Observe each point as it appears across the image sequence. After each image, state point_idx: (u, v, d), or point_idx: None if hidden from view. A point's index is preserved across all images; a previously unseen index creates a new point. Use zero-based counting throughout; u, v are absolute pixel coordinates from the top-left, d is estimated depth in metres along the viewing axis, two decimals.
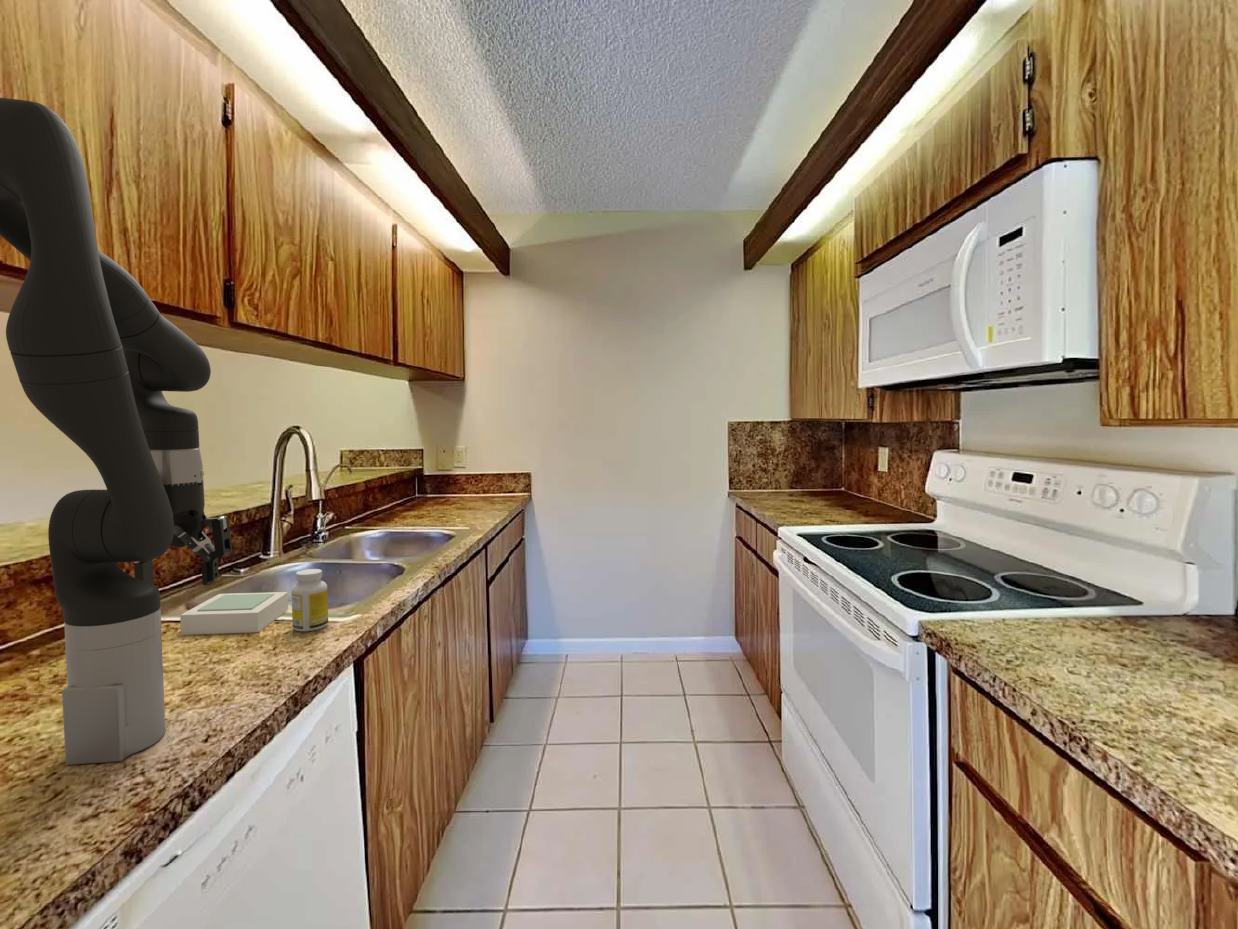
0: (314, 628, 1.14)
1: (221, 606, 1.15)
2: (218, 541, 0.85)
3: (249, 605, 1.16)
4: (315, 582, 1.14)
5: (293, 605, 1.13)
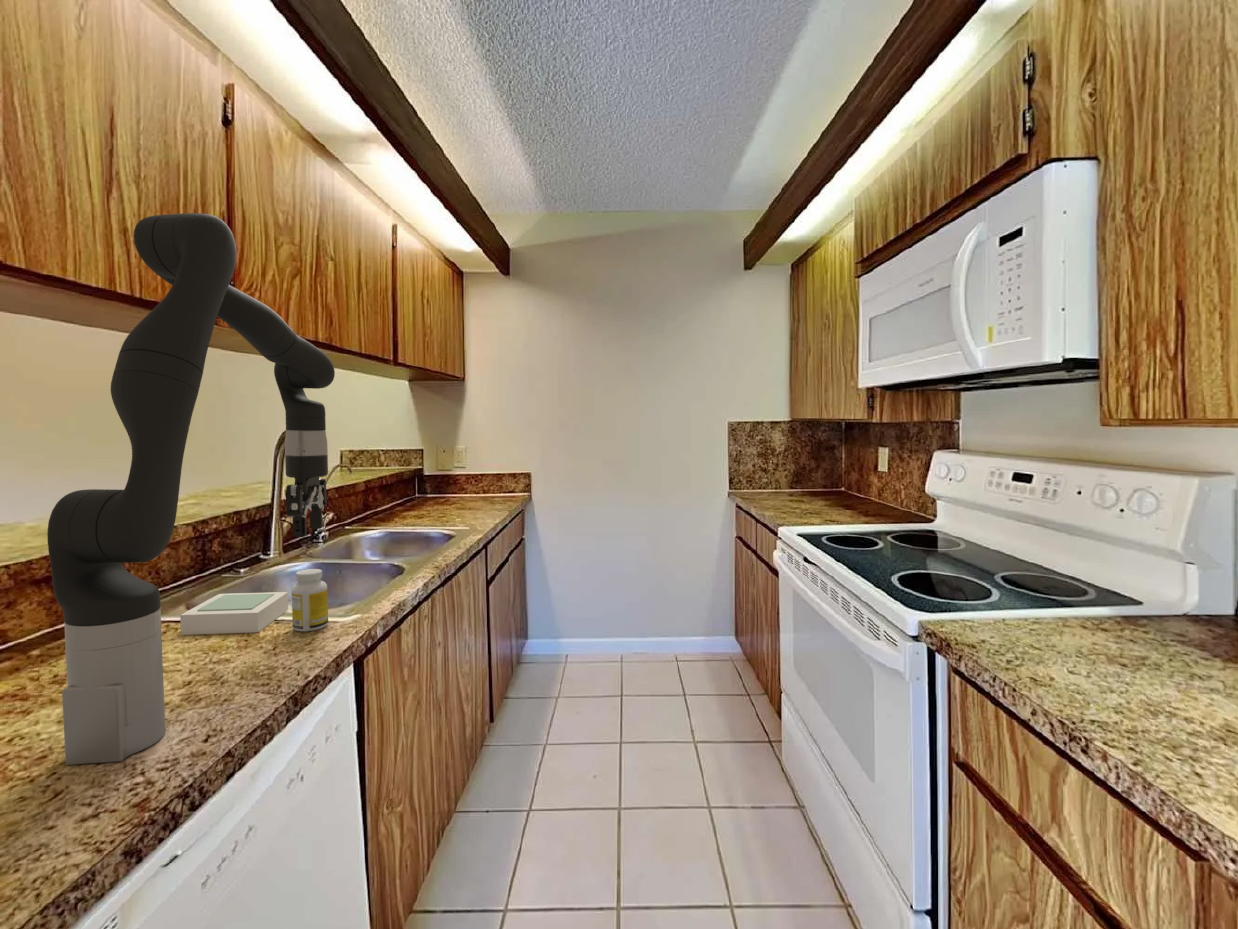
0: (314, 628, 1.14)
1: (221, 606, 1.15)
2: (325, 494, 1.21)
3: (249, 605, 1.16)
4: (315, 582, 1.14)
5: (293, 605, 1.13)
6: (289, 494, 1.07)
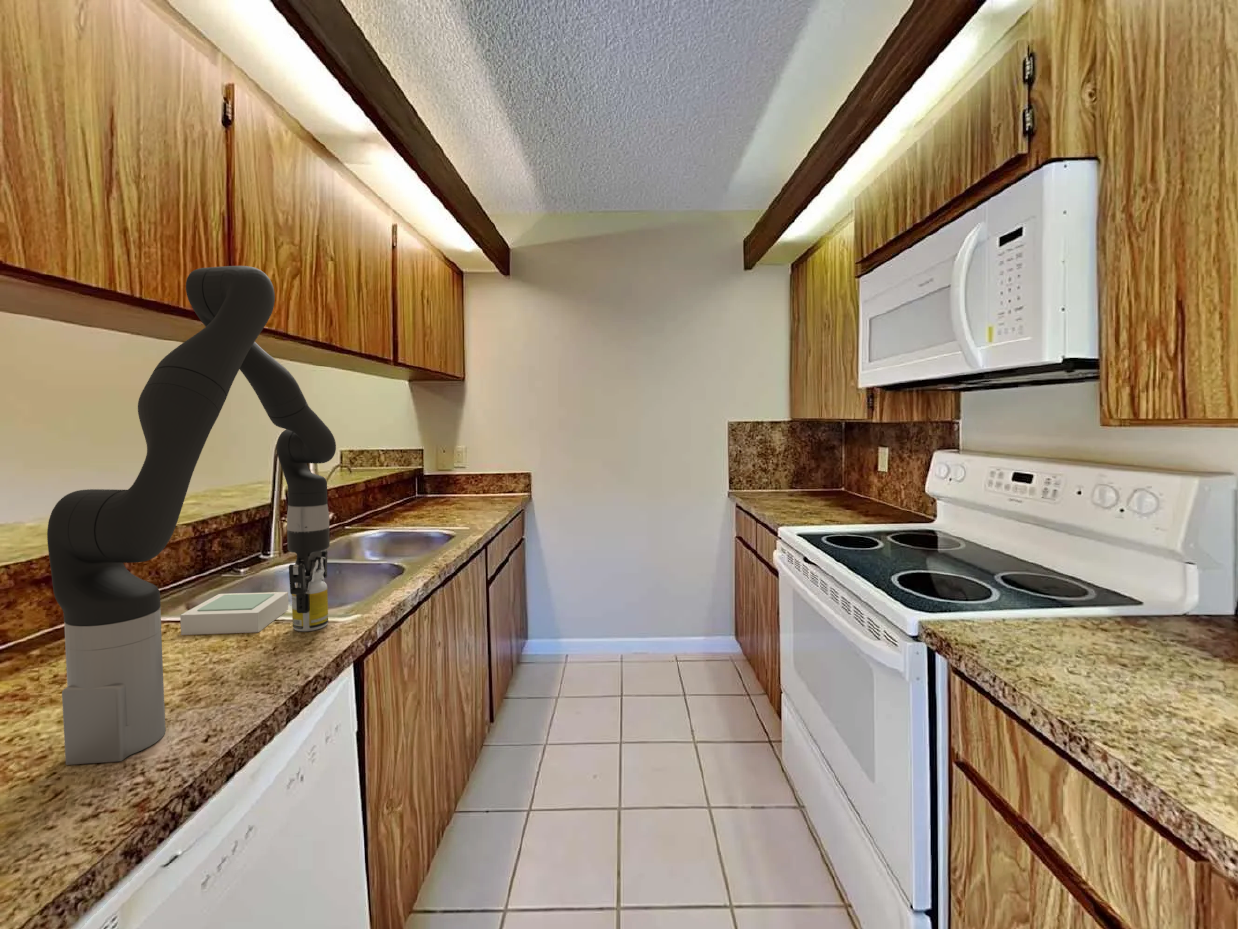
0: (314, 628, 1.14)
1: (221, 606, 1.15)
2: (326, 566, 1.22)
3: (249, 605, 1.16)
4: (315, 582, 1.14)
5: (293, 605, 1.13)
6: (292, 574, 1.09)
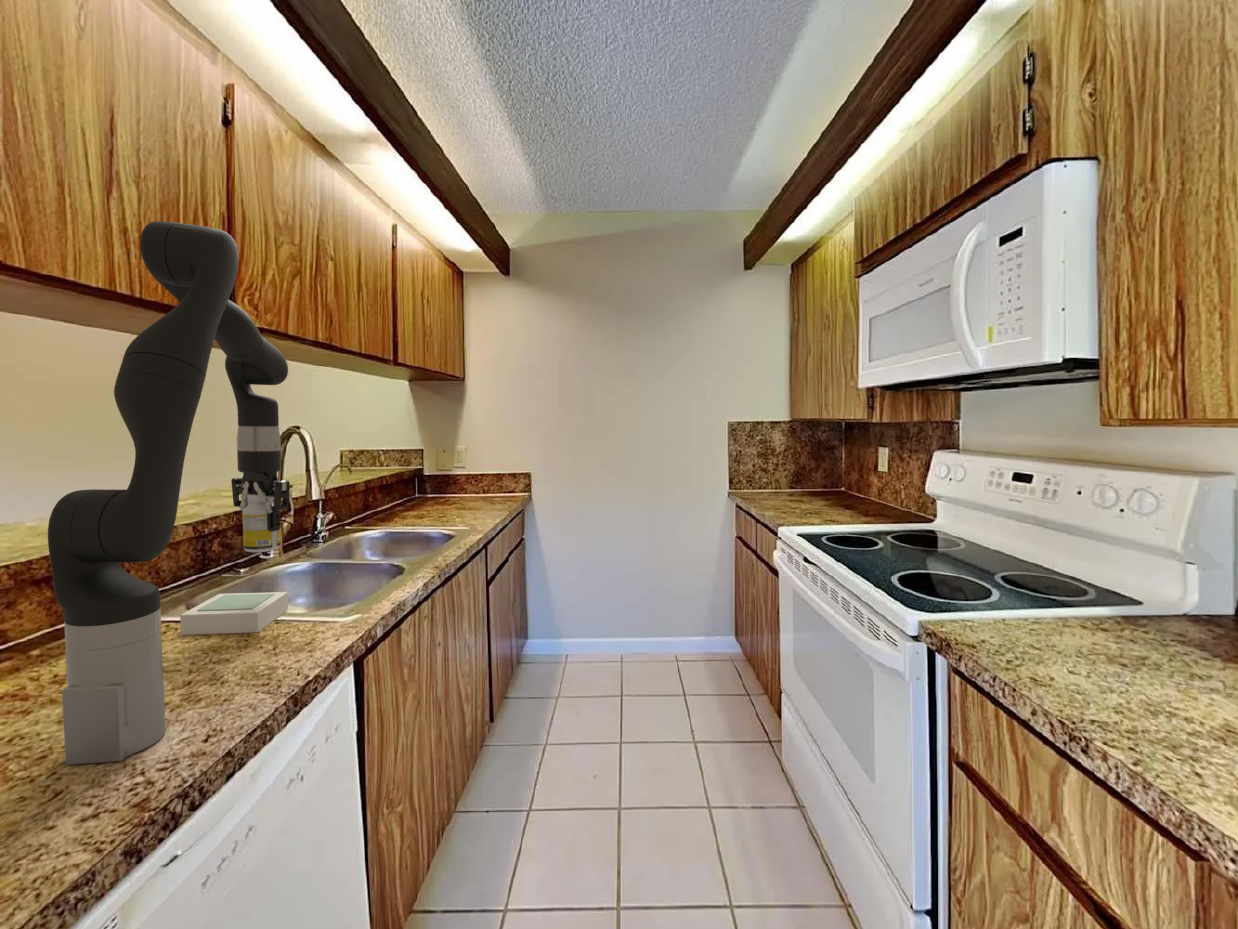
0: (279, 546, 1.17)
1: (221, 606, 1.15)
2: None
3: (249, 605, 1.16)
4: None
5: (258, 526, 1.13)
6: (281, 490, 1.13)
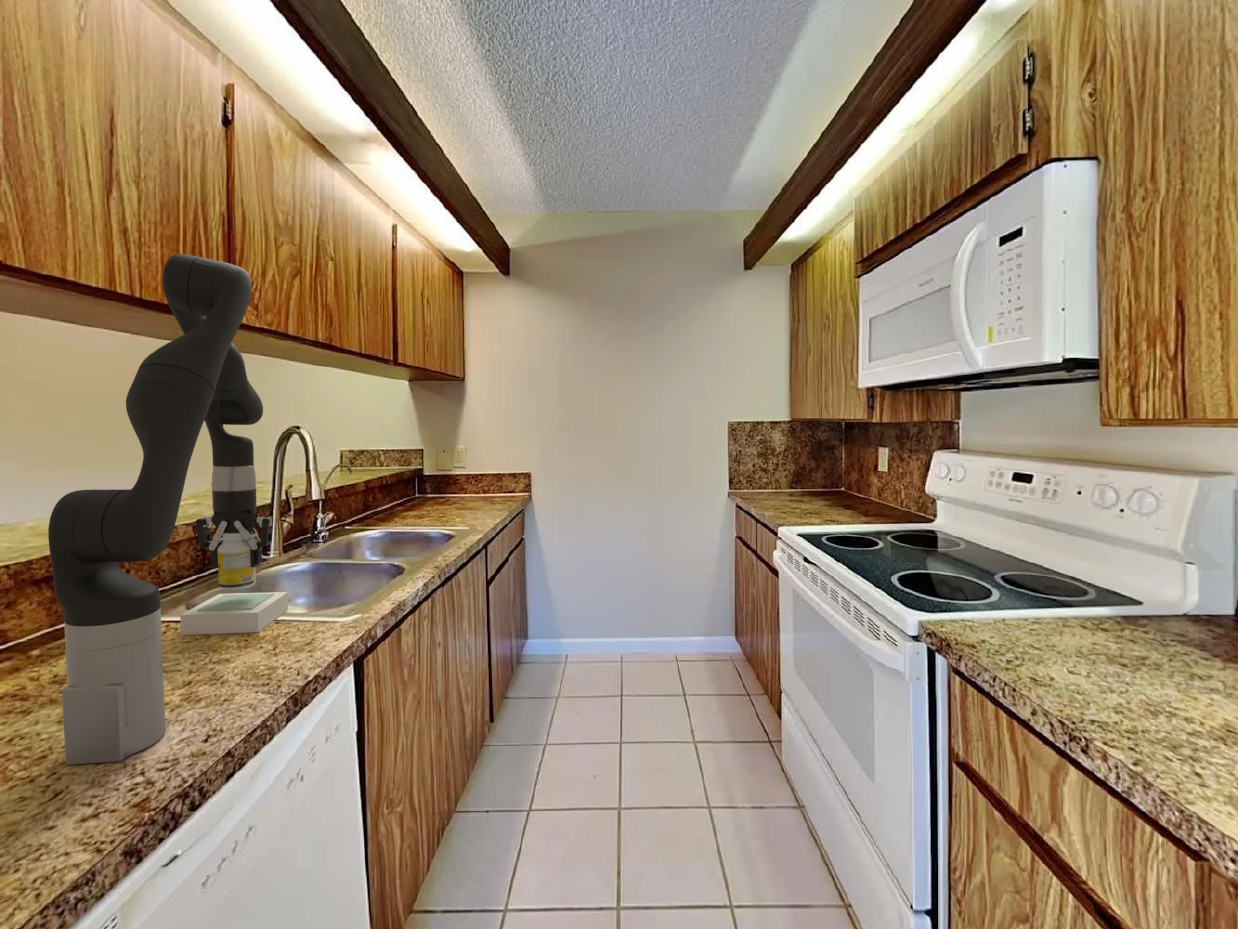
0: None
1: (221, 606, 1.15)
2: None
3: (249, 605, 1.16)
4: None
5: (243, 564, 1.16)
6: (269, 526, 1.18)
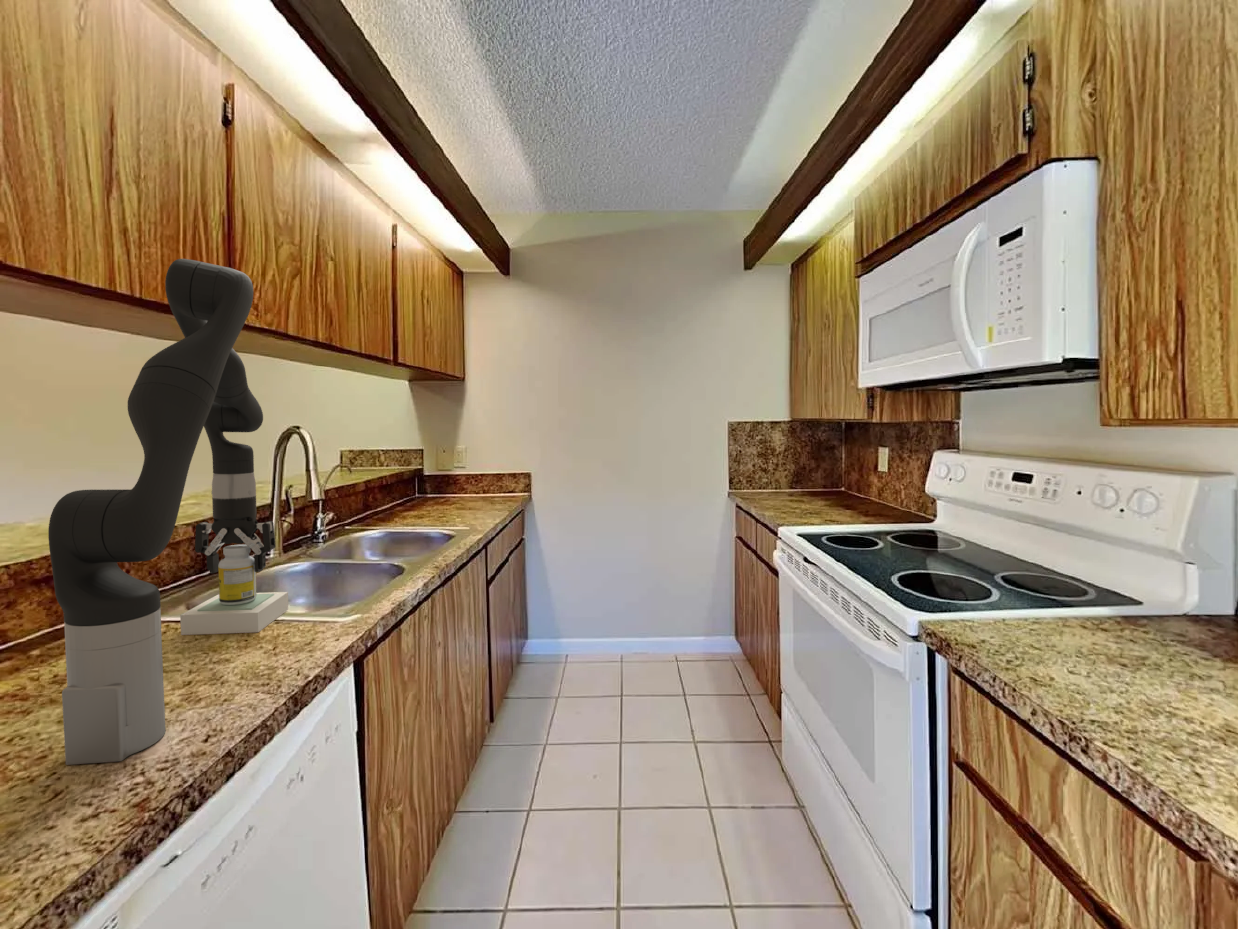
0: None
1: (221, 606, 1.15)
2: None
3: (249, 605, 1.16)
4: None
5: (243, 578, 1.16)
6: (270, 530, 1.18)
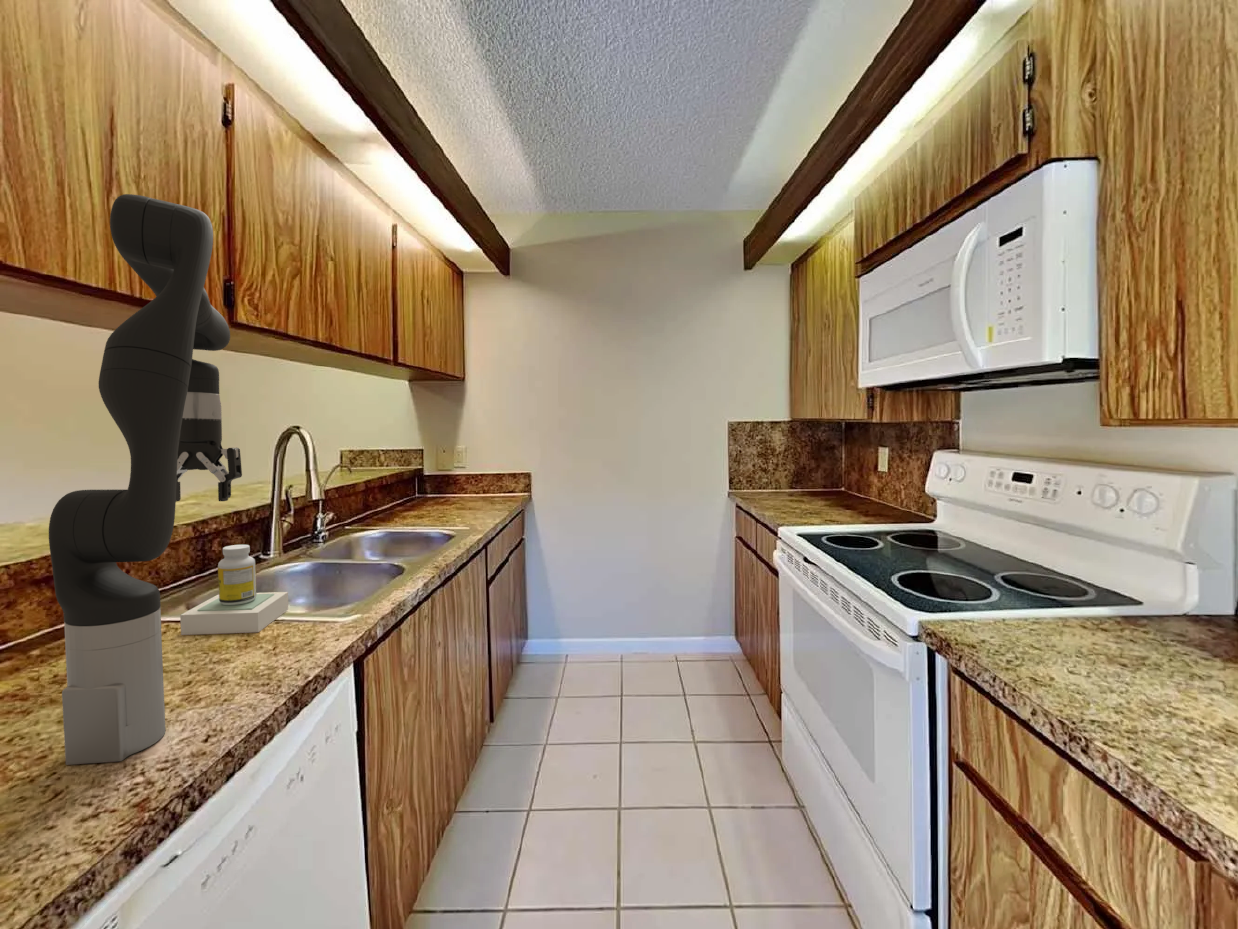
0: None
1: (221, 606, 1.15)
2: None
3: (249, 605, 1.16)
4: None
5: (243, 579, 1.16)
6: (235, 456, 1.09)
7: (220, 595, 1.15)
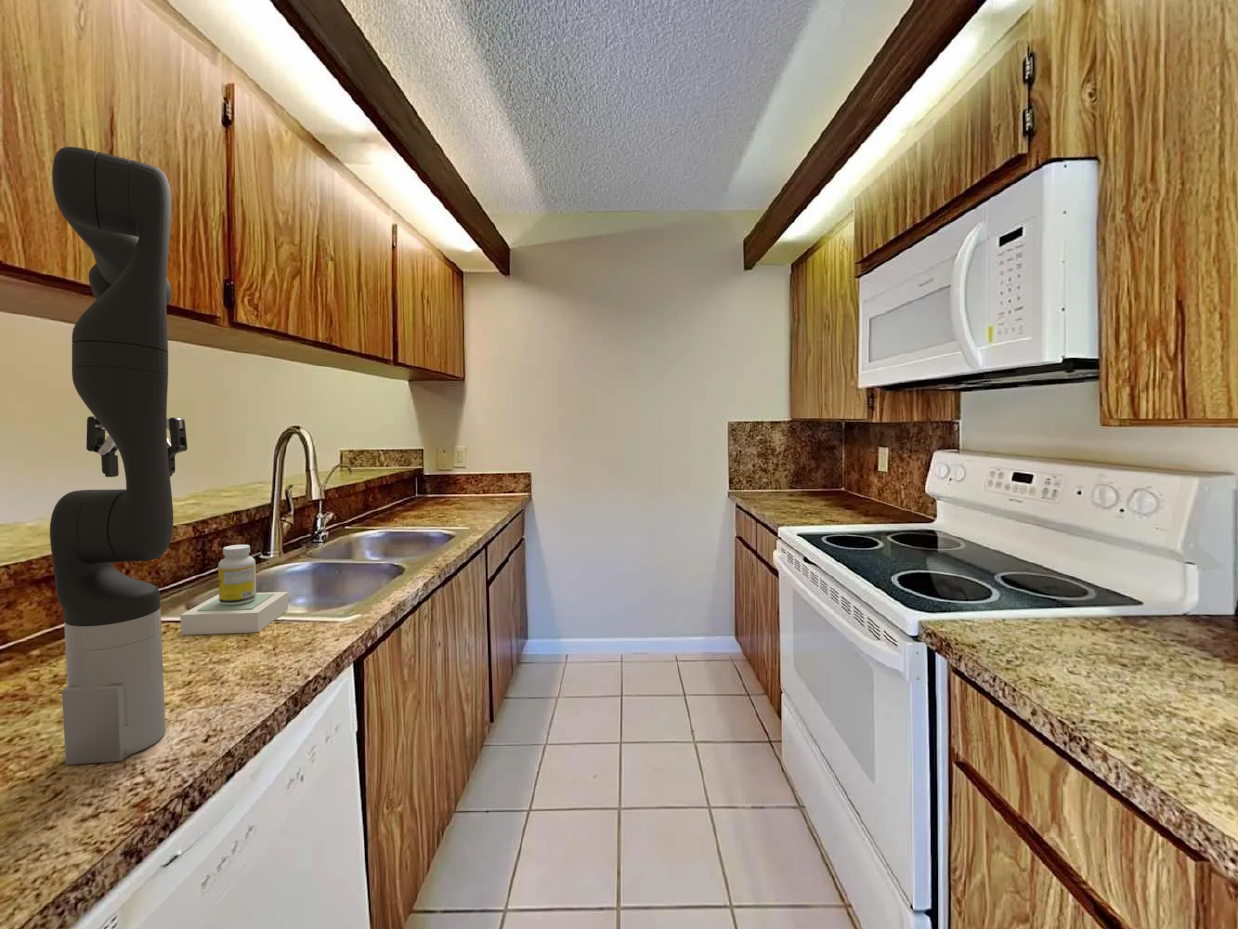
0: None
1: (221, 606, 1.15)
2: None
3: (249, 605, 1.16)
4: None
5: (243, 579, 1.16)
6: (178, 427, 0.98)
7: (220, 595, 1.15)
